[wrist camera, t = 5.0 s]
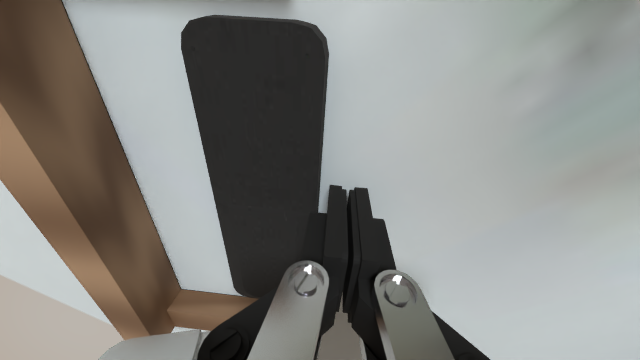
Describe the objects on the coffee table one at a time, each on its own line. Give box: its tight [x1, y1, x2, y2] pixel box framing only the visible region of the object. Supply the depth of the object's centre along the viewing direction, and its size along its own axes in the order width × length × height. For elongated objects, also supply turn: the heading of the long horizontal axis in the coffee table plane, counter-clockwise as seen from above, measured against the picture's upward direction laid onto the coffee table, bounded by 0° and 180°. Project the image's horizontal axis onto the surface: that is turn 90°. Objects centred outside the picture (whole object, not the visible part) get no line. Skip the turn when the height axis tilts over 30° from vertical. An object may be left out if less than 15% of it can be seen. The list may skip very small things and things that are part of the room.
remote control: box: [181, 15, 329, 299], centre depth 11 cm, size 5×2×15 cm
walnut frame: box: [0, 0, 258, 340], centre depth 10 cm, size 22×10×3 cm, turn 176°
